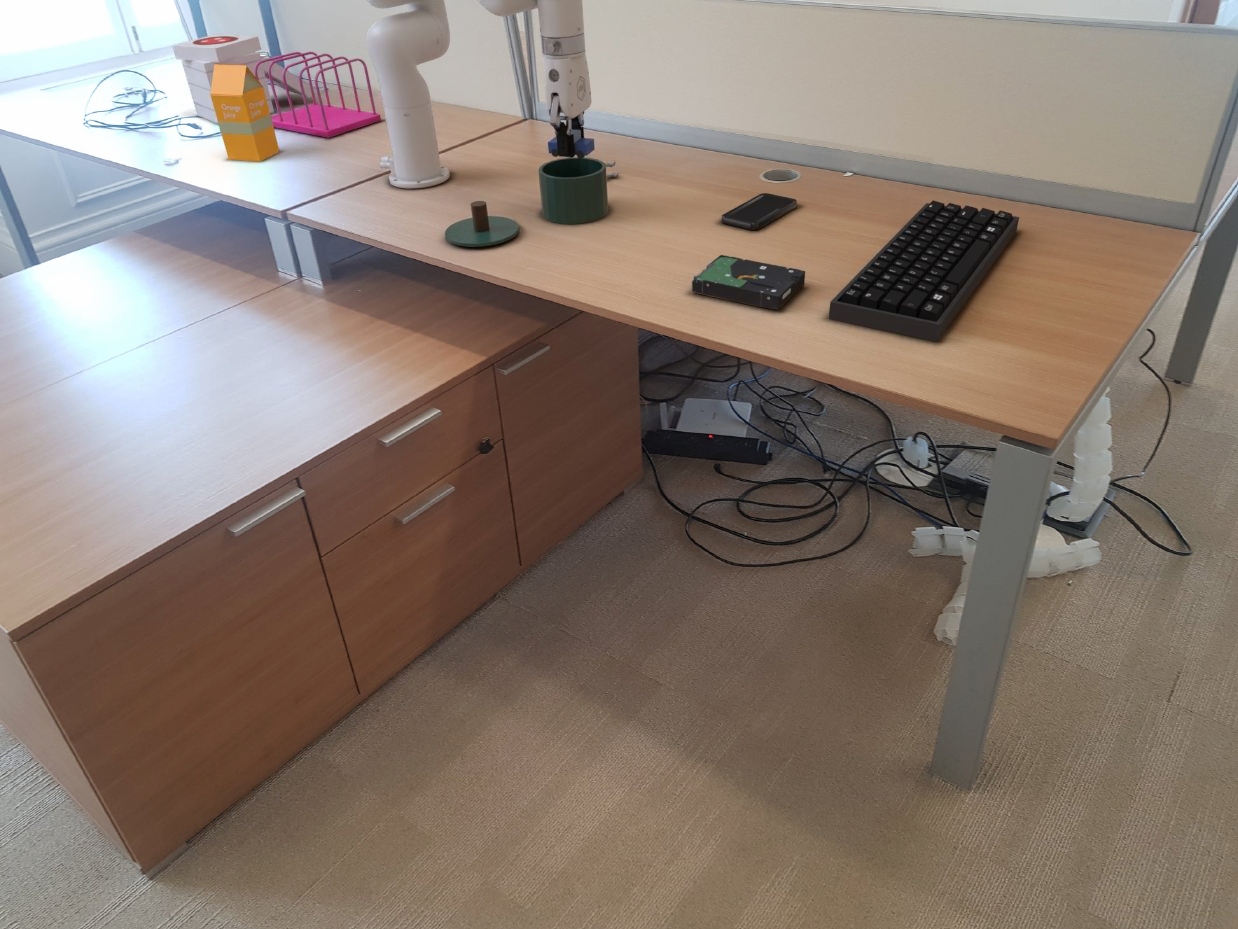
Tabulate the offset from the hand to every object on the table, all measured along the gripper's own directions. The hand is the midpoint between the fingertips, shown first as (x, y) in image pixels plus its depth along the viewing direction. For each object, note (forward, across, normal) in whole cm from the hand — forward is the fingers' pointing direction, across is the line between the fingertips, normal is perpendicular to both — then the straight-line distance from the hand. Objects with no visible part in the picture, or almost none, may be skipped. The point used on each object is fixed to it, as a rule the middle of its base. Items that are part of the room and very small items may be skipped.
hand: (571, 151), depth 171 cm
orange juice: (+11, +16, +88) cm, 90 cm away
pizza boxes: (+11, +51, +116) cm, 127 cm away
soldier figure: (+12, +17, +4) cm, 21 cm away
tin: (+11, 0, 0) cm, 11 cm away
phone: (+12, +7, -34) cm, 36 cm away
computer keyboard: (+12, -11, -66) cm, 68 cm away
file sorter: (+11, +43, +88) cm, 99 cm away
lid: (+11, -15, +12) cm, 22 cm away
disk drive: (+12, -25, -40) cm, 48 cm away
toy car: (+1, 0, 0) cm, 1 cm away
